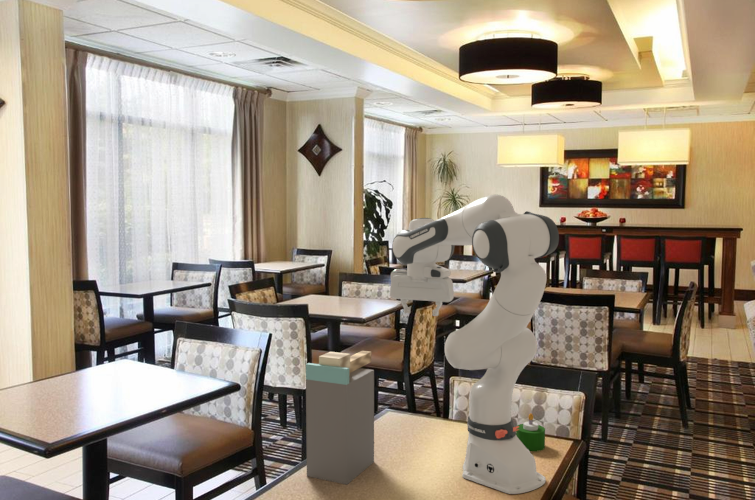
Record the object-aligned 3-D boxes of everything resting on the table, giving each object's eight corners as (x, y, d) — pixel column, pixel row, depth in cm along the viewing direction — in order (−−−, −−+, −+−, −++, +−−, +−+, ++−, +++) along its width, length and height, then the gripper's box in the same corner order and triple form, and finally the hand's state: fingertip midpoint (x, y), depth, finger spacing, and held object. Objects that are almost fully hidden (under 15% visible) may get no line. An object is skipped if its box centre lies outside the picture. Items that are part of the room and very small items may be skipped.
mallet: (357, 360, 189) (357, 340, 189) (376, 362, 187) (376, 341, 186) (319, 379, 170) (318, 356, 169) (339, 381, 167) (339, 358, 167)
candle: (510, 443, 194) (510, 410, 194) (533, 439, 198) (533, 407, 197) (527, 453, 187) (527, 419, 186) (550, 449, 190) (551, 415, 189)
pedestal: (336, 454, 186) (335, 351, 184) (374, 461, 181) (373, 355, 178) (306, 476, 171) (305, 364, 169) (347, 484, 166) (346, 369, 164)
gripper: (386, 269, 203) (386, 313, 204) (448, 272, 194) (448, 318, 195) (394, 267, 209) (394, 310, 210) (455, 270, 200) (455, 315, 201)
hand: (421, 314), depth 202 cm, fingers open, 8 cm apart
